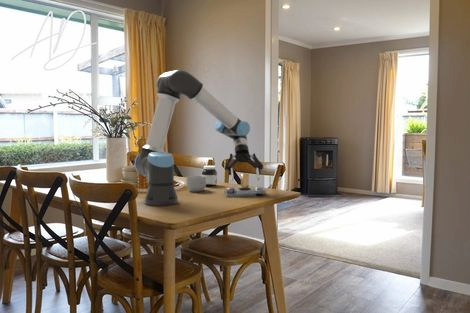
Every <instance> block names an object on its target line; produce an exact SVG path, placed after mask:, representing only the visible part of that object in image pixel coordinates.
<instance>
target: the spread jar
mask: <svg viewBox="0 0 470 313" xmlns="http://www.w3.org/2000/svg"><path fill="white" fill-rule="evenodd" d="M201 175H202V176H206V187H205V188H212V187H216V186H217V185H218V171H217V170H216V166H215V165H204V166H203V170H202V172H201Z"/></svg>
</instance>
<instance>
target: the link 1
mask: <svg viewBox="0 0 470 313" xmlns="http://www.w3.org/2000/svg"><path fill="white" fill-rule="evenodd" d="M234 188H235V187H226V190H224V195H225V197H226V198H240V197H241V198H242V197H243V198H246V197H247V198H248V197H249V198H251V197H257V195H256V194H236V192H235V191H234Z"/></svg>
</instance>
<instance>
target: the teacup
mask: <svg viewBox="0 0 470 313" xmlns="http://www.w3.org/2000/svg"><path fill="white" fill-rule="evenodd" d="M185 179H186V180H185V181H186V187H187V190H189V191H190V192H193V193H194V192H196V193H197V192H202V191H204V190H205V189H206V188H207V187H206V176H202V174H201V175H190V176H186V177H185Z"/></svg>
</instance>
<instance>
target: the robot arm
mask: <svg viewBox="0 0 470 313" xmlns="http://www.w3.org/2000/svg"><path fill="white" fill-rule="evenodd" d="M156 88H157V92H156V96H157V98H158V100H157V103H156V107H155V110H154V114H153V118H152V122H151V125H150V129H149V132H148V135H147V140H146V143H145V144H144V145H143V146H142V147H141V149H140V153H139V154H138V155H136V157H135V159H134V163H133V164H134V168H135V170H136V172H137V173H138V175H140V176H142V177H145V178H148V188H147V191H146V194H145V197H144V205H147V206H152V207H153V206H155V207H162V206H163V207H164V206H172V205H176V204H178V200H179V198H178V194H177V191H176V189H175V185H174V184H175V183H174V182H175V179H174V178H175V173H174V172H175V171H174V170H175V169H174V168H175V161H174V156H173V154H172V153H170V152H167V151H165V150H164V147H165V144H166V139H167V135H168V132H169V129H170V124H171V121H172V118H173V114H174V111H175V106H176V104H177V103H179V102H180V100H181V96H185V97H186V98H188V99H189V100H193V101H195V102H196V103H197V104H199V105H200V107H202V108H203V109H204V110H205V111H207V112H208V113H209V114H210V115H211V116H213V118H215V120H217V121H216V123H215V125H214V129H215V131H216V132H218V133H219V134H221V135H223V136H225V137H228V138H230V139H232V141H233V147H234V154H233V153H229V158H228V159H227V162H226V163H225V165H224V170H225V171H227V172H228V176H230V180H231V182H234V171H233V170H234V167H235V166H236V165H237V164H239V163H247V164H250V166H252V167H253V168H254V169H256V170H255V173H256V179H257V181H260V178H261V176H260V175H261V173H262V171H261V170H263V168H264V164H262V162H261V161H260V160H259V158H258V157H257V155H256V153H253V154H251V153H250V150H249V143H248V137H247V136H248V134H249V133H250V131H251V126H250V124H249V123H248V122H247V121H245V120H241V119H240V118H239V117H237V116H236V115H235V114H234V113H233V112H232V111H231V110H229V109H228V108H227V106H225V105H224V104H223V103H221V101H219V100H218V99H217V98H216V97H215V96H214V95H212V94H211V93H210V92H209V91H208V90H207V89H206V88H205V87H204V83H202V82H201V80H199V79H198V78H197V77H195V76H194V75H193V74H191V73H190V72H188V71H186V70H184V69H175V70H171V71H170V70H169V71H165V72H163V73H161V75H159V77H158V78H157V81H156ZM233 159H235V160H234V161H233V162H232V160H233Z"/></svg>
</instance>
